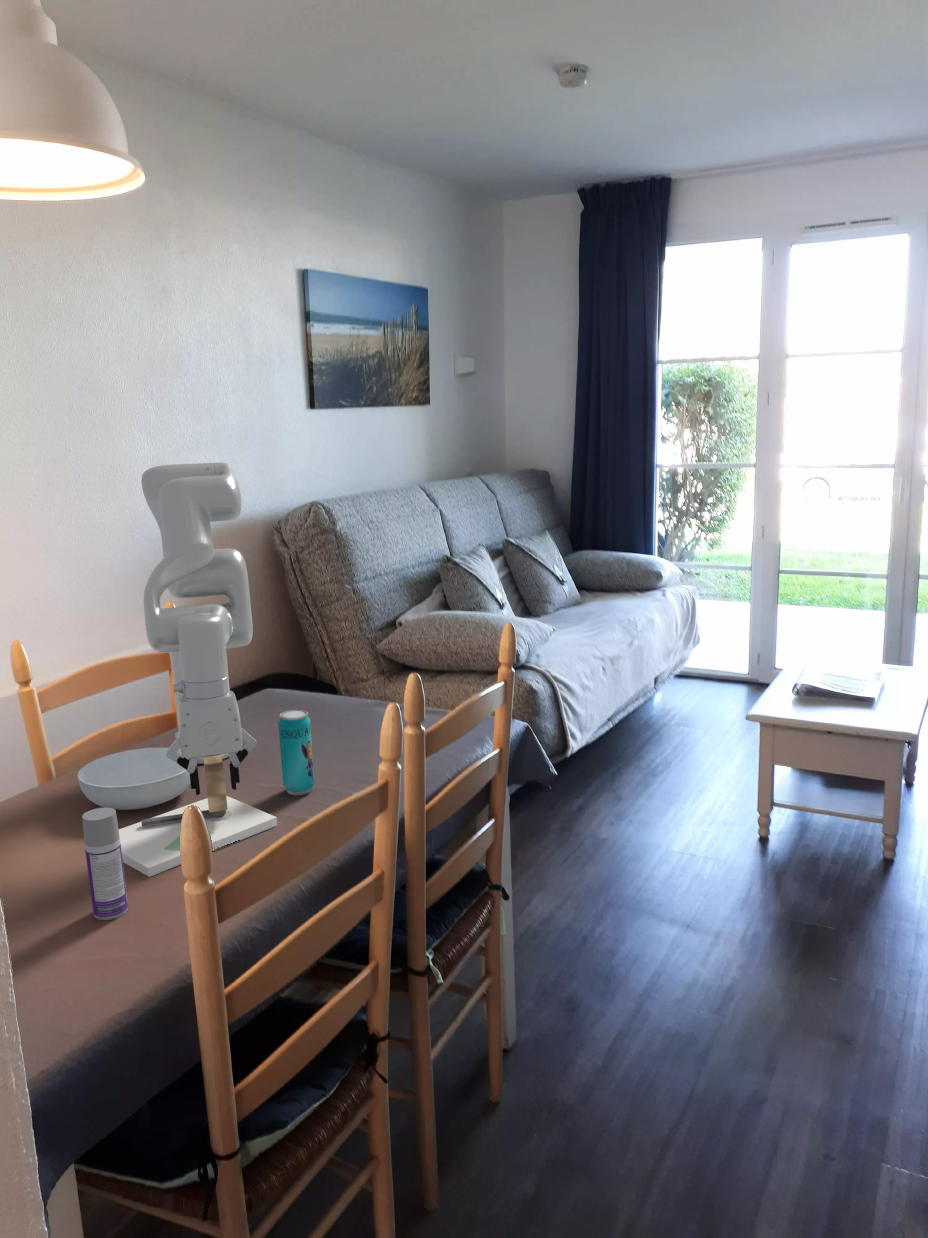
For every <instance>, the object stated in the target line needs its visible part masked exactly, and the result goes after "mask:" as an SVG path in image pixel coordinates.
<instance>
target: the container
mask: <svg viewBox="0 0 928 1238" xmlns="http://www.w3.org/2000/svg"><path fill="white" fill-rule="evenodd" d="M116 810H117V809H113V808H105V807H97V808H94V809H91V810H88V811H86V812H84V813H83V814H82V816H81V819H82V829H83V840H84V851H85V852H84V853H85V858H86V866H87V874H88V881H89V882H88V883H89V891H90V897H91V905H92V912H93V913H92V914H93V917H94V918H95V919H96V920H99V921H111V920H114V919H118V918H120V917H122V916H124V915H125V914H126V913H127V912H128V911H129V903H128V894H127V893H128V892H127V886H126V885H127V884H126V876H125V869H124V862H123V859H122V851H121V843H120V836H119V824H118V816H117V811H116Z"/></svg>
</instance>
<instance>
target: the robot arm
mask: <svg viewBox="0 0 928 1238" xmlns="http://www.w3.org/2000/svg"><path fill="white" fill-rule="evenodd" d="M140 481H141V488H142V493H143V497H144V498H145V502H146V504H147V506H148V508H149V510H150V511H151V513H152V515H153V517H154V519H155V521H156V523H157V525H158V528H159V531H160V536H161V545H162V554H163V555H162V557H163V558H162V559H161V561H159V562H158V564H157V565H156V567H154V569H153V570H152V571H151V574H150V575H149V577H148V579H147V581H146V584H145V586H144V593H143V611H144V622H145V632H146V637H147V642H148V644H149V646H150V647H151V648H152V649H153V650H154V651H156V652H158V653H168V654H169V658H170V663H171V670H172V678H173V679H172V680H173V684H172V685H173V693H174V697H175V699H174V700H175V707H176V708H175V709H176V716H177V726H178V731H177V732H175V734H174V736H175V737H174V738H175V739H174V740H173V742H172V744H171V745H170V746H169V747H168V748H169V749H168V750H167V751H166V756H167V757H168V758H169V759H171V760H173V761H174V762H176V763H178V764H179V765H180V766H181V767H183V768H184V769H186V770H187V771H188V773H190V790H195V796H199V795H200V794H201V787H200V779H199V768H198V767H197V765H199V764H203V765H204V757H209V756H217V755H221V756H222V760H224V759H227V758H229V760H230V763H229V765H228V766H229V776H230V785H231V789H232V790H233V791H235V790H237V784H239V783H241V779H240V769H239V767H240V765H241V763H242V762H243V761H244V760H245V759H246V757H247V756H248V755H249V753H251V751H253V750H254V749H255V748H256V747H257V745H258V743H257V740H256V738H254V737H253V736H252V735H251V734H250V733H249V732H248V731H246V730H245V729H244V728H243V727H242V722H241V717H240V716H241V715H240V710H239V705H238V701H237V697H236V695H235V693H234V691H233V690H231V689H230V680H229V679H230V678H229V669H228V667H229V666H228V658H227V657H228V656H227V649H235V648H242V647H245V646H247V645H249V644H250V643H251V642H252V638H253V633H254V629H253V628H254V626H253V625H254V624H253V615H252V606H251V594H250V585H249V576H248V569H247V564H246V561H245V558H244V556H243V554H242V553H241V552H240V551H239V550H237V549H235V548H229V547H228V548H214V543H213V533H212V527H211V526H212V525H211V523H212V522H225V521H226V522H227V521H228V522H229V521H235V520H236V519H238V518H239V516H240V514H241V512H242V495H241V490H240V485H239V482H238V479H237V478H236V475H235V472H234V470H233V469H232V467H231V466H230V465H229V464H228V463H226V462H201V463H178V464H177V463H173V464H164V465H163V464H162V465H157V466H153V467H150V468H148V469H146V470H145V471H144V472H143V473H142V475H141V480H140ZM166 590H168V592H169V593H170V595H171V596H172V597H174V598H176V599H196V598H197V599H198V598H211V597H225V598H226V599H227V601H222V602H221V601H220V602H211V603H198V604H187V605H181V606H177V607H166V608H161V598H162V595H163V593H164V592H165V591H166ZM244 742H245V744H243V743H244ZM243 745H244V746H243ZM179 749H181V753H182V755H183V756H182V755H180V754H179V753H177V751H178V750H179ZM187 758H188V759H187ZM196 763H197V765H196Z"/></svg>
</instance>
